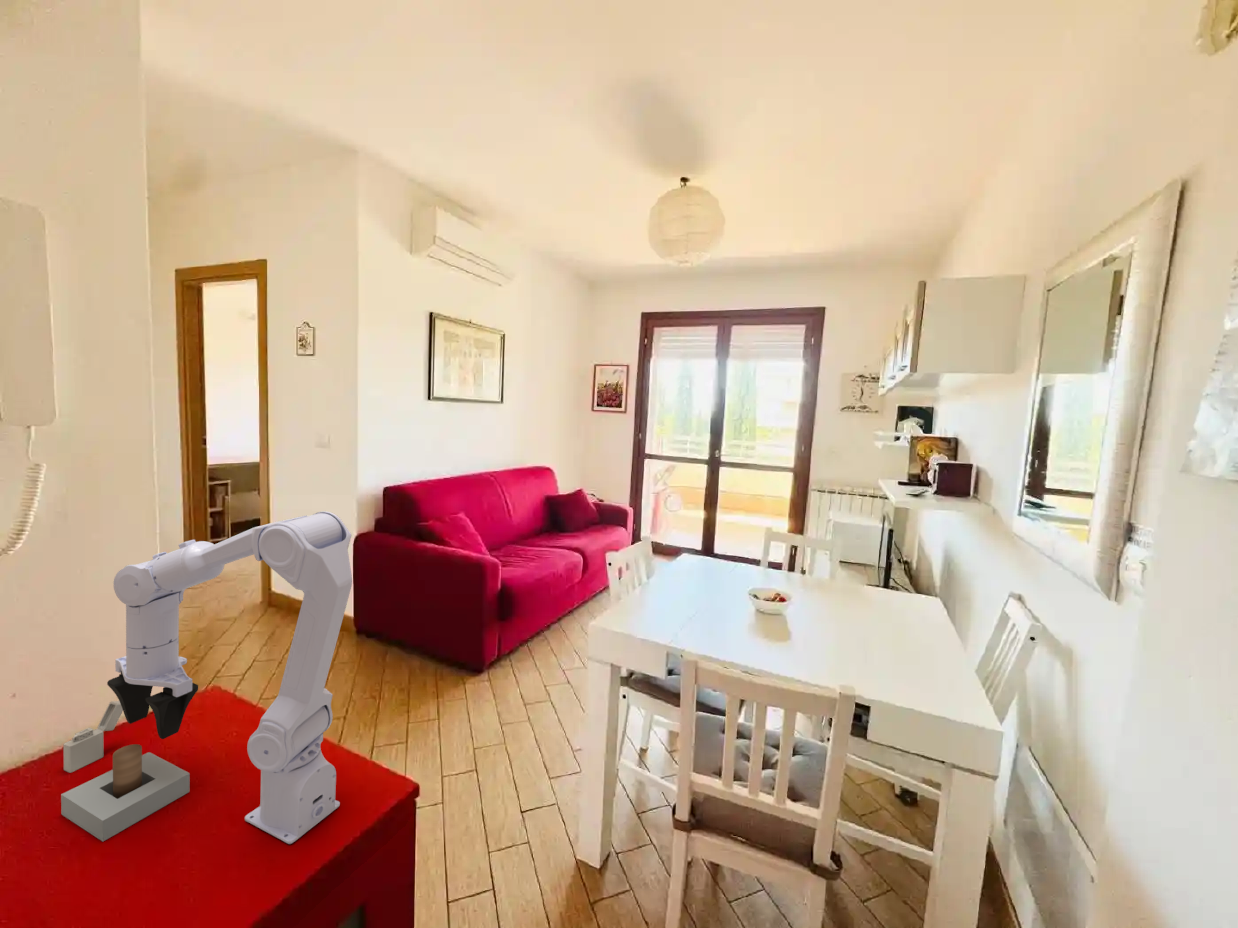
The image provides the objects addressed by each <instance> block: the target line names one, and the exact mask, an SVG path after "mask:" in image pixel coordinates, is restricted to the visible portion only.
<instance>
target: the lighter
mask: <svg viewBox="0 0 1238 928" xmlns="http://www.w3.org/2000/svg"><path fill="white" fill-rule="evenodd" d="M107 705H108V706H107V707H106V709H105V711H104V713H103V714H102V715H103V716H102V717H101V720H100V721H99V723H98V726H97V728H96V729H94V728H91V727H87V728H84V729H82V730H80V731H78V732H76V733H74V735H73V737H72V738H71V739H70V740H67V741H66V742H64V743H63V771H65V772H67V773H73V772H76V771H77V770H80V769H82V768H84V767H86V766H87V765H89V764H92V763H94V762H96V761H98V760H100V759H102V758H104V754H105V753H104V732H110V731H113V730H115V727H116V725H118V722H119V720H120V718H121V715H122V713H123V709H122V706H121V704H120V701H119V700H116V701H115V700H113V701H112V700H111V701H110V702H109V704H107Z"/></svg>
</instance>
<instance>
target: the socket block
mask: <svg viewBox="0 0 1238 928" xmlns="http://www.w3.org/2000/svg"><path fill="white" fill-rule="evenodd" d="M190 775H191V774H190V772H188V771H186V770H185V769H182V768H180V767H179V766H176V765H175V764H173V763H172V762H169V761H167V760H165V759H163V758H161V757H159V756H157V755H156V754H154V753H152V752H150V751H149V752H146V753H144V754H142V786H141V787H139V788H137V789H135V790H134V791H132V792H130V793H128V794H126V795H124V796H122V797H120V798H118V799H117V798H115V797H113V769H111V770H108V771H106V772H105V773H103V774H100V775H99V776H97V777H94V778H93V779H91V780H88V781H86V782H84V783H81V784H80V785H78V786H76V787H73V788H71V789H69V790H67V791H65V792H63V793H61V794H60V803H61V804H60V805H61V811H60V812H61V815H62V817H65V819H67V820H70V821H71V822H72V823H73V824H75V825H77V826H78V827H80V828H81V829H83V830H84V831H85V832H87V833H89V834H90V835H92V836H94V837H95V838H97V839H98V840H99V841H101V842H104V841H106V840H108V839H110V838H111V837H113V836H115V835H117V834H119V833H120V832H123V831H124V830H125V829H127V828H129V827H131V826H132V825H134V824H136V823H138V822H139V821H141V820H144V819H145V818H147V817H148V816H150V815H152V814H154V813H155V812H157V811H159V810H161V809H162V808H164V807H166V806H167V805H169V804H171V803H172V802H174V801H176V800H177V799H180V798H182V797H183V796H185V795H186V794H188V793H190V786H191V785H190V782H191V781H190V779H191V778H190Z"/></svg>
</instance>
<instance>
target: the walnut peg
mask: <svg viewBox="0 0 1238 928" xmlns="http://www.w3.org/2000/svg"><path fill="white" fill-rule="evenodd" d="M142 755H143V747H142V745H140V744H136V743H135V744H129V745H125V746H122V747H121V748H120V747H119V748H118V749H117V750H115V751H114V752H113V754H112V770H113V797H115V798H117V799H118V798H120V797H122V796H124V795H126V794H128V793H130V792H132V791H134V790H135V789H137V788H139V787H141V786H142Z"/></svg>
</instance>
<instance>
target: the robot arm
mask: <svg viewBox="0 0 1238 928" xmlns="http://www.w3.org/2000/svg"><path fill="white" fill-rule="evenodd" d="M351 538H352V533H351V532H350V530H349V529H348V527H347V525H345V523H344V522H343V520H342V519H341V517H339V516H338V515H337V514H335V513H333V512H331V511H326V510H325V511H318V512H316V513H313V514H311V515H302V516H298V517H297V516H296V517H293V518H287V519H284V520H278V521H273V522H270V523H267V524H263V525H259V526H254V527H252V528H250V529H247V530H244V531H242V532H240V533H238V534H236V535H233V536H230V537H229V538H226V539H224V540H221V541H219V542H218V543H215V544H214V543H213V542H211V541H204V540H199V541H196V539H190V540H186V541H184V542H183V541H182V542H180V543H179V544H178V549H175V550H172V551H170V552H167V551H163V552H158V553H155V554H153V555H152V559H151V560H148V561H147V560H146V561H144V562H139V563H137V564H128V565H125V566H124V567H123V568H121V569H119V570H118V571H117V573H116V574H115V576H114V578H113V590H114V593H115V595H116V597H117V598H118V599H119V601H120V602H121V603H123V604H124V605H125V636H126V637H125V643H126V644H125V647H126V649H125V651H126V653H125V655H124V656H122V657H118V658H115V659H114V660H115V662H114V663H115V672H117V673H119V675H118V676H116V677H113V678H111V679H109V680H108V681H107V684H106V685H107V686H108V687H109V688H110V689H111V691H112V692H113V693H114V694H115V696H116V698H117V699H118V701H120V704H121V706H122V709H123V711H122V713H123V714H124V718H125V719H126V722H127V723H128V724H129V725H131V724H133V723H136V722H138V721H140V720H143V719H145V718H147V717H148V715H149V712H150V709H151V710H152V713H153V714H154V715H153V716H154V718H155V719H154V720H155V725H156V732H157V735H158V737H159V739H161V740H164V739H167V738H169V737H171V736H173V735H175V734H177V733H179V731H180V728H181V724H182V722H183V719H184V715H185V713H186V710H187V708H188V706H189V704H190V702H191V700H193V698H194V696H195V695H196V694H197V692H198V691H199V684H198V683H194V682H193V678H191V677H190V676H189V675H188V674H187V673H186V670H185V669H184V667H183V666H184V665H187V662H188V658H186V657H183V656H179V655H180V654H179V653H180V652H179V650H180V646H179V645H180V644H179V643H180V642H179V641H180V639H179V638H180V636H179V635H180V634H179V633H180V627H179V626H180V622H179V621H180V617H179V616H180V604H181V603H182V602H183V601H184V592H185V591H186V590H187V589H189V588H192V587H195V586H197V585H200V584H203V583H206V582H208V581H211V580H213V579H215V578H217V577H218V576H220V575H221V574H222V572H223V570H224V568H225V565H228V564H230V563H234V562H236V561H238V560H241V559H244V558H249V557H250V556H254V558H255V561H258V562H262V561H264V562H265V564H266V565H267V566H268V567H269V568H270V569H272V570H273V571H274V572H275V573H276V574H278V575H279V576H280V577H281V578H282V579H283V580H285V581H286V582H287V583H288V584H290V585H291V586H292V587H293V588H294V589H296V590H300V591H302V592H303V597H302V602H301V606H300V609H299V613H298V618H297V621H296V625H295V628H294V634H293V637H292V641H291V645H290V649H289V653H288V656H287V660H286V664H285V667H284V671H283V676H282V678H281V683H280V687H279V691H278V694H277V696H276V698H275V699H274V700H273V702H272V703H271V705H270V706H269V707H268V708H267V709H266V710H265V713H264V714H262V716H261V718H260V721H259V724H258V727H257V729H255V731H254V732H253V733H251V735H250V736H249V739H248V741H247V746H246V747H247V748H246V750H247V755H248V757H249V760H250V761H251V763H252V764H253V765H254V767H255V768H257V769H258V770H260V795H259V796H260V804H259V806H258V807H256V808H255V809H254V810H252V811H250V812H249V813H247V814H246V815H245V816H244V821H245V822H247V823H250V824H251V825H253V826H255V827H256V828H259V830H262V831H264V832H266V833H268V834H269V835H271V836H273V837H275V838H277V839H279V840H281V841H282V842H284V843H286V844H288V845H291V844H293V843H294V842H296V841H297V840H298V839H300V838H301V837H302V836H303V835H305V834H306V833H307V832H309V831H310V830H311V829H312V828H314V827H315V826H316V825H317V824H318V823H320V822H321V821H322V820H324V819H326V818H327V817H328V816H329V815H330V814H331V813H333V812H334V811H335V810H336V809H338V808H339V807H340V805H341V802H340V801H339V800H336V792H337V791H336V785H337V771H336V768H335V766H334V765H333V764H332V763H330V762H329V761H328V760H327V759H326V758H325V757H324V754H323V753H322V750H321V749H322V748H321V744H322V742H323V741H324V733H325V732H326V731H327V730H328V729H329V728H330V726H331V724H332V722H333V716H334V715H333V710H332V700H333V693H332V692H331V691H330V690H328V689H327V688H326V683H327V679H328V674H329V671H330V668H331V663H332V660H333V657H334V652H335V649H336V645H337V642H338V637H339V635H340V630H341V626H342V623H343V619H344V615H345V611H346V608H347V604H348V601H349V598H350V593H351V590H352V586H353V577H352V571H351V562H350V557H349V555H350V554H349V546H350V542H351ZM153 687H158V688H162V691H160V692H158V693H155V694H152V691H153Z"/></svg>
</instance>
